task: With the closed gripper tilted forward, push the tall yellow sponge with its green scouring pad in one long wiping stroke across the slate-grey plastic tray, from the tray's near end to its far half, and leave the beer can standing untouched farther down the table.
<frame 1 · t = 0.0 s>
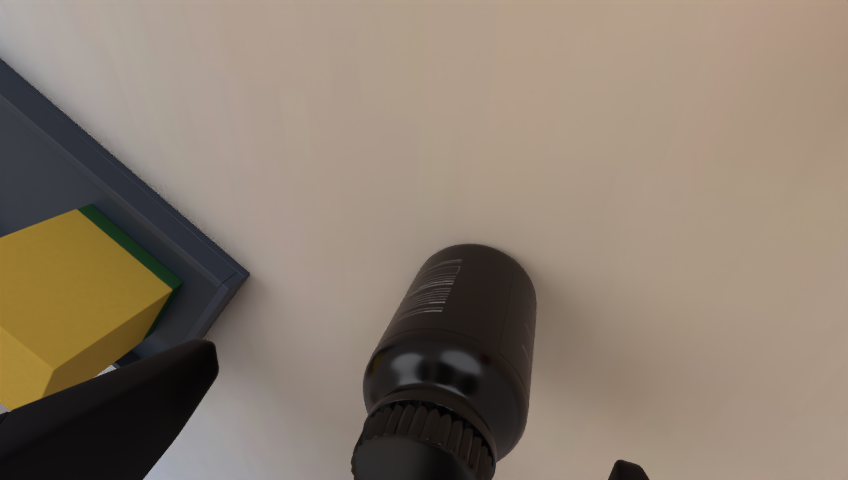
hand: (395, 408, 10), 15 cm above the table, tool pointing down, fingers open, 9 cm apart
supplement bottle: (477, 292, 25), on the table
sponge: (123, 272, 32), point 1 cm above the table, touching tray
tray: (69, 217, 32), on the table
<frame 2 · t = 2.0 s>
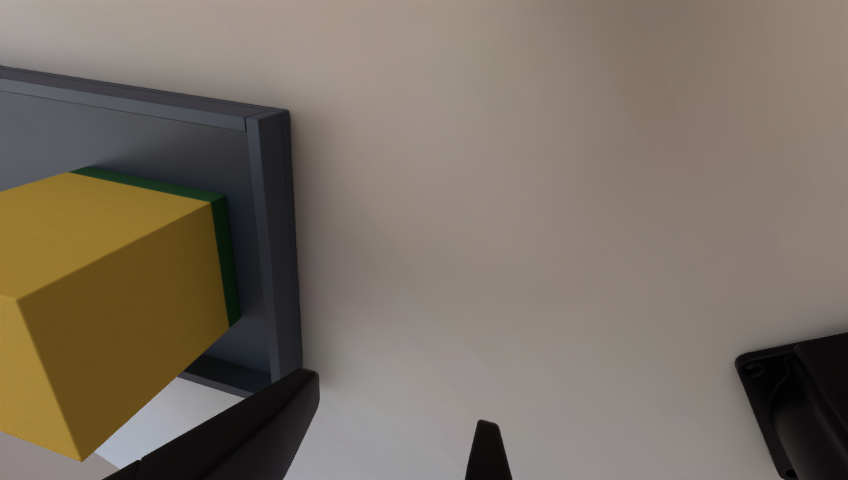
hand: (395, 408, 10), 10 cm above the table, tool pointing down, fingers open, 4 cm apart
sponge: (166, 244, 23), point 1 cm above the table, touching tray
tray: (91, 219, 25), on the table
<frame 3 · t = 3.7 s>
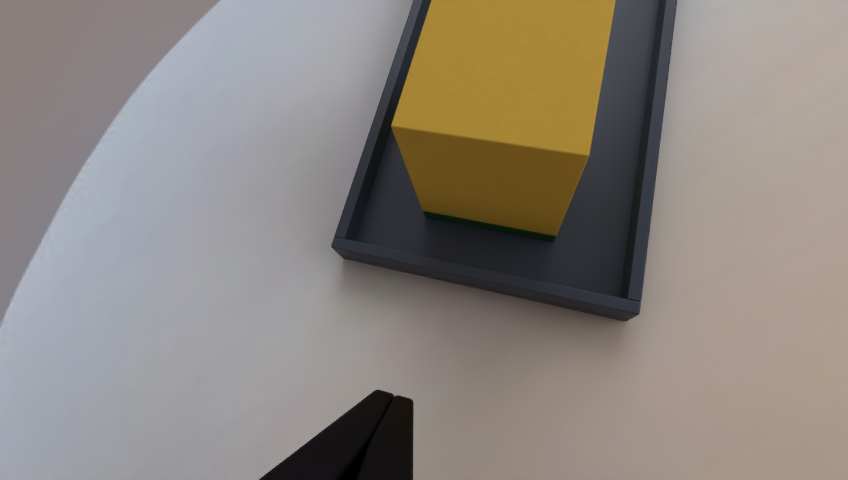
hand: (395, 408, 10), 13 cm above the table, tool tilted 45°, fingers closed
sponge: (502, 164, 25), point 1 cm above the table, touching tray
tray: (520, 90, 27), on the table
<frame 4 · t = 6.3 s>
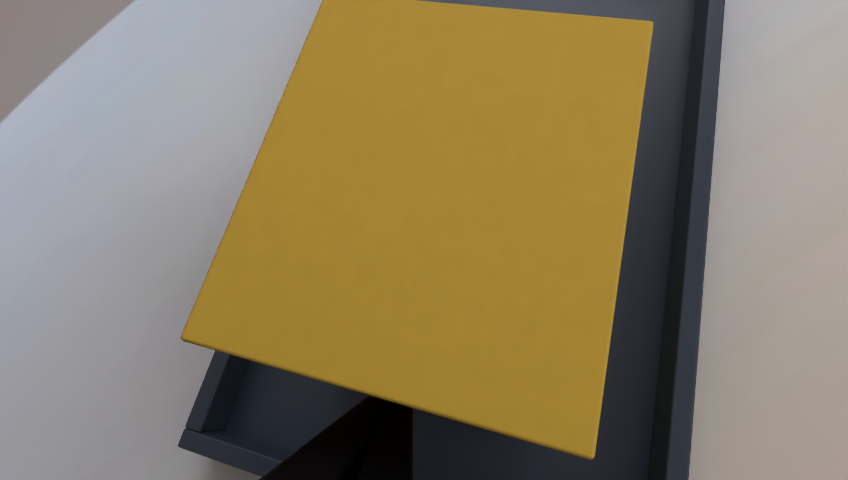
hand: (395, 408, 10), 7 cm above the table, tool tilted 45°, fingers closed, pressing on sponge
sponge: (459, 287, 17), point 1 cm above the table, touching gripper
tray: (488, 176, 19), on the table
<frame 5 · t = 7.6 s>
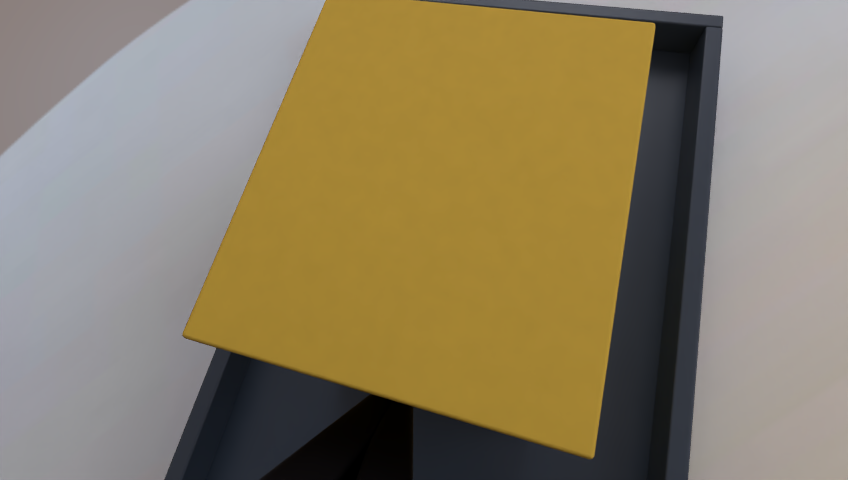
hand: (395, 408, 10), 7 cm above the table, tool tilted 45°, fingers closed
sponge: (460, 287, 17), point 1 cm above the table, touching tray
tray: (459, 295, 17), on the table
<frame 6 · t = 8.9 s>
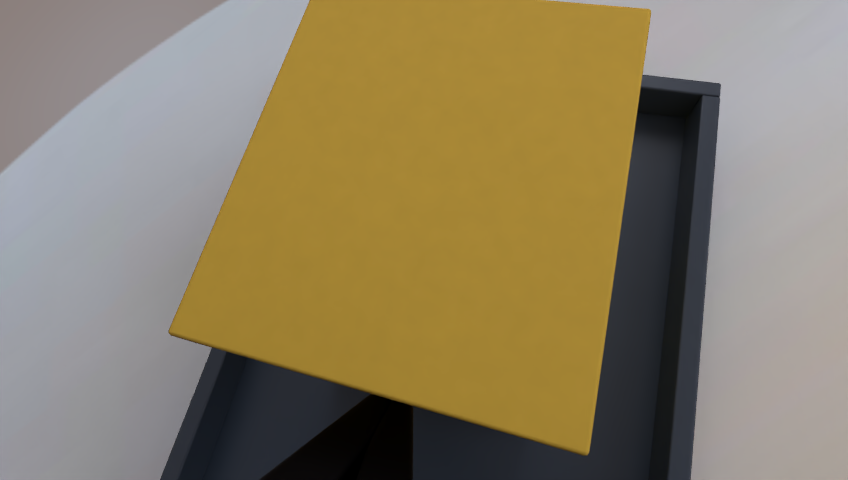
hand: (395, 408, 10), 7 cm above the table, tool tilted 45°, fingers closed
sponge: (456, 282, 16), point 1 cm above the table, touching tray
tray: (436, 386, 16), on the table
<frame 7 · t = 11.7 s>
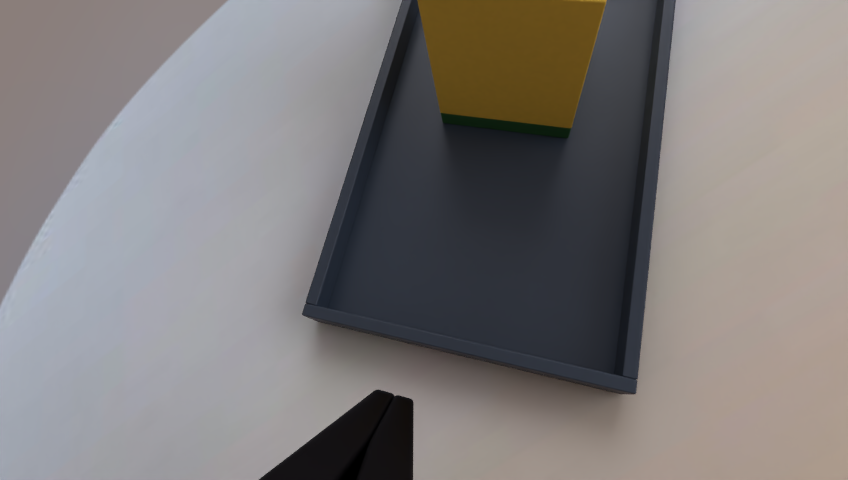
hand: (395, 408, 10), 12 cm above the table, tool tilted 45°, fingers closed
sponge: (516, 71, 26), point 1 cm above the table, touching tray
tray: (506, 132, 25), on the table
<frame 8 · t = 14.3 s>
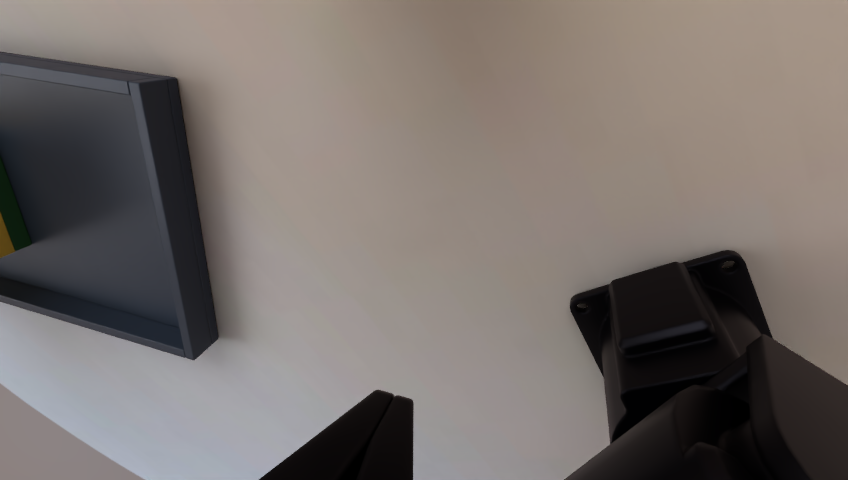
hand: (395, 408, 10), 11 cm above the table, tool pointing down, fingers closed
tray: (20, 185, 27), on the table
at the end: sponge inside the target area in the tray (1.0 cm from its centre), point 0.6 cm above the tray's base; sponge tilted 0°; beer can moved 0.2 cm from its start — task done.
